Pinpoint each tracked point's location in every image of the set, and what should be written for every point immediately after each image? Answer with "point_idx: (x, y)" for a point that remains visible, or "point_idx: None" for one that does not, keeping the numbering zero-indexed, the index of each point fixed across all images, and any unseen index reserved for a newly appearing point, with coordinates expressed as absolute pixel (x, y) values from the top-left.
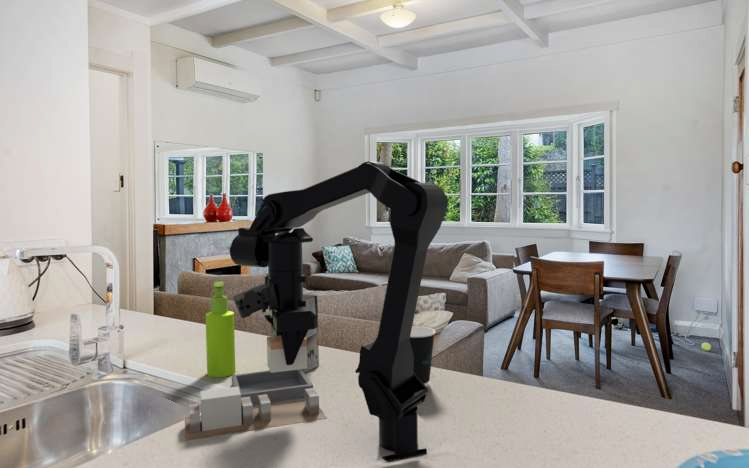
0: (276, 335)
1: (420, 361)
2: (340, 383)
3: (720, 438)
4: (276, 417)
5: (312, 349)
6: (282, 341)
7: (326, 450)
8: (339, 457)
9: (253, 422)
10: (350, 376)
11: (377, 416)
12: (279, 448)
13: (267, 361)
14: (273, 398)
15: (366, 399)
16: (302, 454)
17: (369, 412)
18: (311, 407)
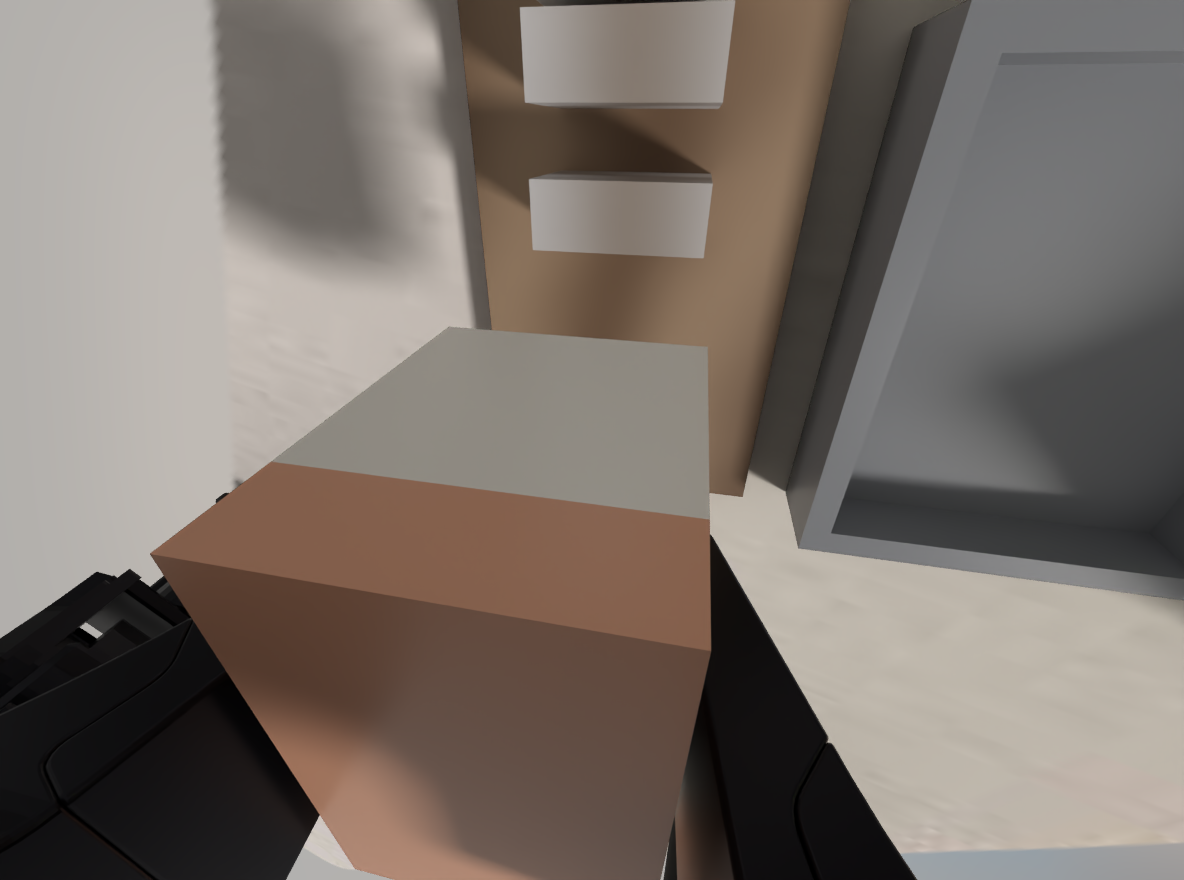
0: (804, 793)
1: (666, 873)
2: (924, 646)
3: (311, 843)
4: (593, 268)
5: None
6: (60, 696)
7: (303, 378)
8: (255, 398)
9: (571, 113)
10: (977, 702)
11: (110, 576)
12: (331, 211)
13: (698, 367)
14: (853, 314)
15: (68, 607)
16: (276, 291)
17: (126, 572)
18: None
